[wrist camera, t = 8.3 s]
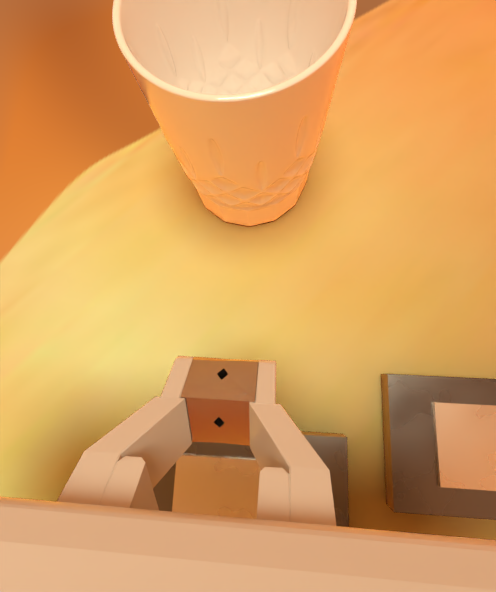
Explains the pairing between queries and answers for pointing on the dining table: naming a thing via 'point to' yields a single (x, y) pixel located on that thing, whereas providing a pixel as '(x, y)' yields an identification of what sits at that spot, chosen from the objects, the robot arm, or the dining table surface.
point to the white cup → (238, 91)
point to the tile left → (241, 478)
